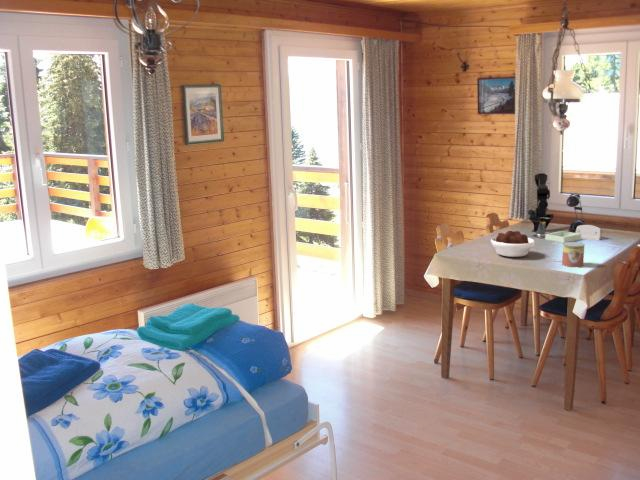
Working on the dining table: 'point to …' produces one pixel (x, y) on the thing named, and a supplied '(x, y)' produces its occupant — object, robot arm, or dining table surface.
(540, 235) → the stud
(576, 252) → the canned food
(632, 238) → the dining table surface
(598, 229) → the white arched block
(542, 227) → the strut
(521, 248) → the bowl of brown food
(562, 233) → the bin
